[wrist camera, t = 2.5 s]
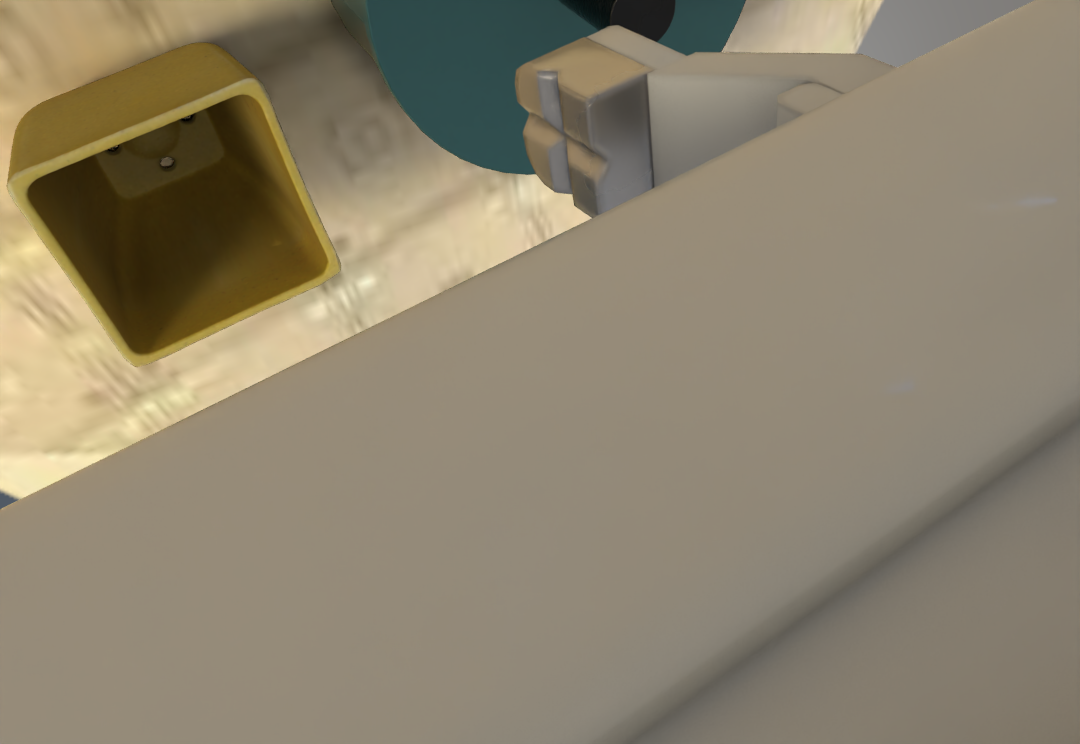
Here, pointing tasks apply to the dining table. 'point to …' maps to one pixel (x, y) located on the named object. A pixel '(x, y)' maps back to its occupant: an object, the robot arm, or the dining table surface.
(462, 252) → the dining table surface
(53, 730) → the robot arm
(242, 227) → the flower pot
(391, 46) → the lid
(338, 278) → the dining table surface
